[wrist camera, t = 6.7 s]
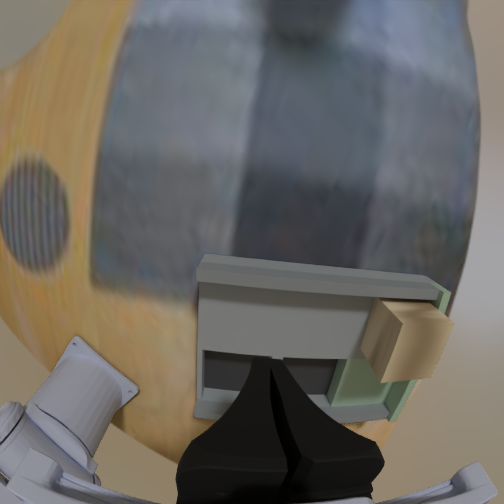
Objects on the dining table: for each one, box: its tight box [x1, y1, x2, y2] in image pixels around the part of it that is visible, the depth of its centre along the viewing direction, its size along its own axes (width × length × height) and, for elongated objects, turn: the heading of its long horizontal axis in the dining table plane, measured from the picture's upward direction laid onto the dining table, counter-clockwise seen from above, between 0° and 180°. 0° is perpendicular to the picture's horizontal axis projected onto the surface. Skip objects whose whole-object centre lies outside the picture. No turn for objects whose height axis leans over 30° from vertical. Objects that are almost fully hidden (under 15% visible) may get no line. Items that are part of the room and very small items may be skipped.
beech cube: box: [360, 297, 454, 383], centre depth 18 cm, size 4×4×4 cm
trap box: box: [194, 254, 451, 423], centre depth 20 cm, size 18×13×4 cm
